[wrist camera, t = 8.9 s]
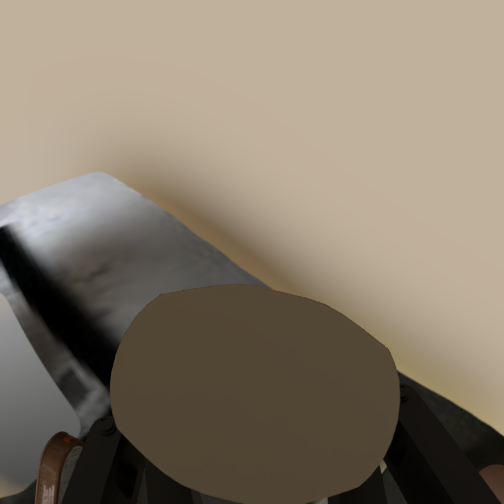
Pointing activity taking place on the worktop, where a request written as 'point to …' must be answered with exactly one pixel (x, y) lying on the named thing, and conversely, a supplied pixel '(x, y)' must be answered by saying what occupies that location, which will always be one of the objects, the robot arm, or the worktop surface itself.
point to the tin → (56, 467)
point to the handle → (255, 394)
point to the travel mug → (493, 478)
